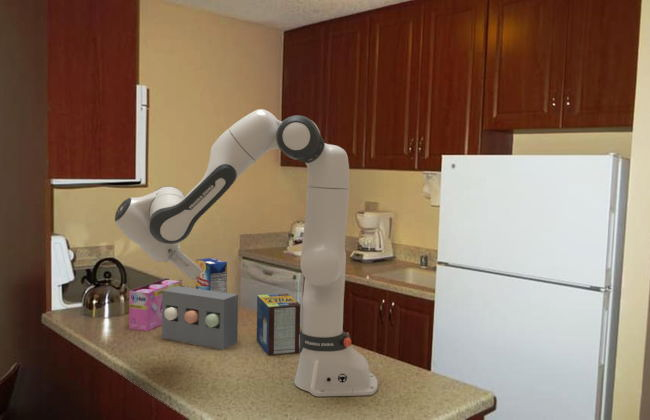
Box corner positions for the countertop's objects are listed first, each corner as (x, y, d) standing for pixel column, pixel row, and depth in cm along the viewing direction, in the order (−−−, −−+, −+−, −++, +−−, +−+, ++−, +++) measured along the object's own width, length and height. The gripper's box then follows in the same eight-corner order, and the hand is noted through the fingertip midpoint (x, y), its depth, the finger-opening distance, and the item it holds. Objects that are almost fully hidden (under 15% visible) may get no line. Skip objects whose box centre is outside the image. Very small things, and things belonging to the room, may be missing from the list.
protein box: (286, 338, 191) (287, 292, 189) (300, 353, 176) (301, 304, 175) (255, 340, 187) (256, 294, 186) (267, 356, 173) (268, 306, 171)
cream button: (182, 318, 186) (182, 306, 186) (174, 321, 182) (174, 308, 182) (172, 316, 188) (172, 304, 187) (164, 319, 184) (164, 307, 184)
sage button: (223, 325, 180) (223, 312, 179) (215, 328, 176) (216, 315, 176) (212, 323, 181) (212, 311, 181) (205, 326, 177) (205, 313, 177)
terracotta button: (202, 321, 183) (202, 309, 182) (194, 324, 179) (194, 312, 179) (192, 319, 184) (192, 307, 184) (184, 322, 181) (184, 310, 180)
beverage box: (209, 324, 204) (210, 264, 202) (195, 317, 212) (196, 259, 211) (226, 321, 208) (227, 262, 207) (211, 314, 217) (212, 257, 215)
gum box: (166, 312, 219) (167, 277, 217) (185, 314, 216) (185, 279, 215) (128, 329, 196) (128, 290, 195) (148, 331, 194) (148, 292, 192)
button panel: (237, 342, 184) (238, 294, 183) (223, 349, 177) (224, 299, 176) (177, 332, 194) (177, 286, 192) (162, 338, 186) (162, 290, 185)
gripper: (185, 247, 148) (218, 278, 155) (158, 228, 164) (189, 256, 172) (168, 265, 146) (202, 295, 154) (143, 244, 162) (175, 272, 170)
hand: (195, 275), depth 163 cm, fingers closed
